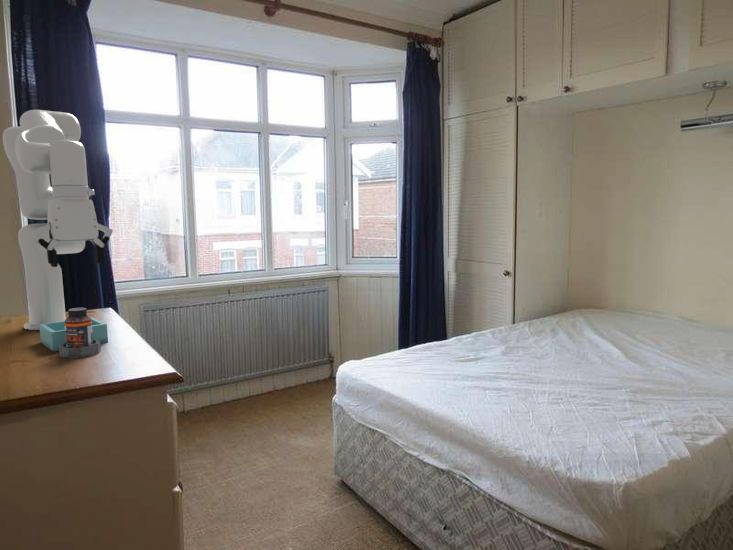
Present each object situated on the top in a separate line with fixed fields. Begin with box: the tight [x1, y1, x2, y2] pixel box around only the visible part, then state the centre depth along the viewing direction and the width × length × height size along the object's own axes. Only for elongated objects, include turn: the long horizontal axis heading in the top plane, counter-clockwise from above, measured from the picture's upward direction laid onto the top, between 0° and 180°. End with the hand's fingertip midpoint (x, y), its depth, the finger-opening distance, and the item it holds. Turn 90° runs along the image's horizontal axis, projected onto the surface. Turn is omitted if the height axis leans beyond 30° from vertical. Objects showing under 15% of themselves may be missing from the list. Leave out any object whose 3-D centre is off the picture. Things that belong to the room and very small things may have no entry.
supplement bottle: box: [65, 307, 93, 347], centre depth 126 cm, size 6×6×11 cm
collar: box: [58, 339, 102, 359], centre depth 127 cm, size 9×9×2 cm
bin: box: [39, 316, 109, 352], centre depth 137 cm, size 13×13×5 cm
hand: (76, 264), depth 123 cm, fingers open, 9 cm apart
